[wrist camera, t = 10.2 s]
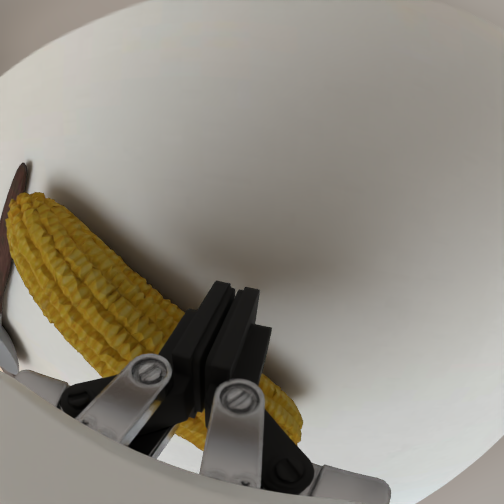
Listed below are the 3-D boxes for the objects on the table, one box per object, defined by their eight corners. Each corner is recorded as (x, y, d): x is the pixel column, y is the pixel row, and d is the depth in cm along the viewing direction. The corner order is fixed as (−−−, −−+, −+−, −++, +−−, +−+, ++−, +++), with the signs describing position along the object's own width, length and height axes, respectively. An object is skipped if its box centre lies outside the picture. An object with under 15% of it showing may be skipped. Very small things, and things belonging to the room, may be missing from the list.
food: (320, 388, 16) (313, 473, 11) (261, 416, 19) (242, 486, 13) (55, 160, 13) (-27, 190, 8) (35, 226, 16) (-27, 264, 10)
